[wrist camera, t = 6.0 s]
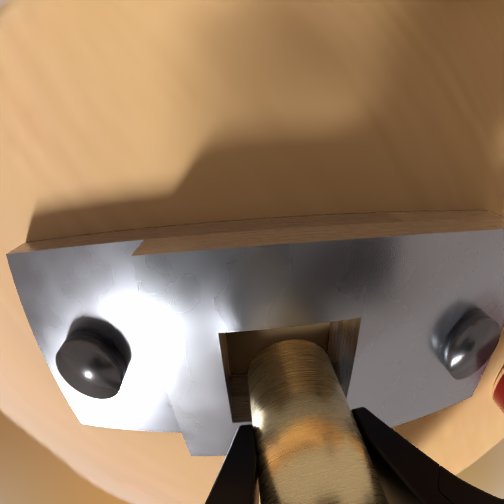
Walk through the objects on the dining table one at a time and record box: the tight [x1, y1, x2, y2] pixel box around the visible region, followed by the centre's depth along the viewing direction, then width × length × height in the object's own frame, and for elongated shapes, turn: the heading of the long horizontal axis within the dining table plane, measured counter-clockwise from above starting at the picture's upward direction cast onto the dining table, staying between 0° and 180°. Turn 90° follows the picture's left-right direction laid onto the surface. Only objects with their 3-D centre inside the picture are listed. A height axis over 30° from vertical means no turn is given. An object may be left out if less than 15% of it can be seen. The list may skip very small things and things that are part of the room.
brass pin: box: [248, 340, 388, 504], centre depth 6 cm, size 3×3×8 cm
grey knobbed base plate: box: [6, 211, 504, 456], centre depth 11 cm, size 10×22×4 cm, turn 93°
